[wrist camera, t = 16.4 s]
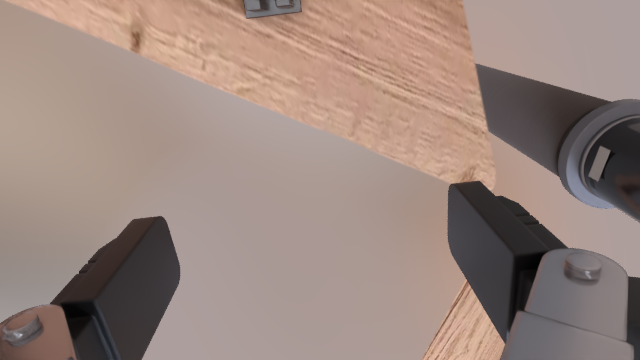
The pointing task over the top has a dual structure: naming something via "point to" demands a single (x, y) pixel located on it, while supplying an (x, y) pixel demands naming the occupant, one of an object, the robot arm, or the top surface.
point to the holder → (270, 7)
